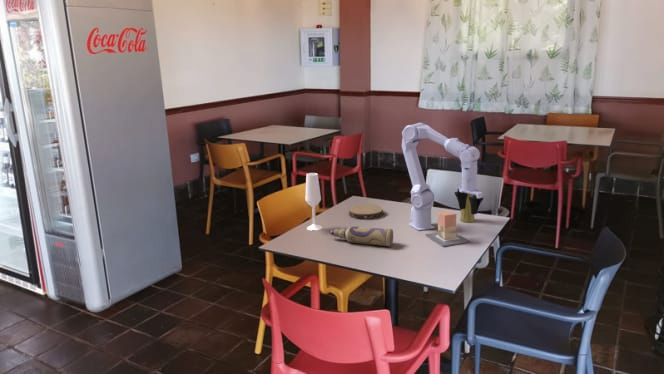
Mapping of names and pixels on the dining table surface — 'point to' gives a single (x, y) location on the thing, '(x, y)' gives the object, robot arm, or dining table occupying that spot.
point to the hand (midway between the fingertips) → (468, 211)
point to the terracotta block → (447, 219)
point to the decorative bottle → (366, 235)
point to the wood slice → (366, 211)
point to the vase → (467, 212)
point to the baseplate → (450, 242)
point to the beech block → (447, 232)
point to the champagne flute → (313, 196)
